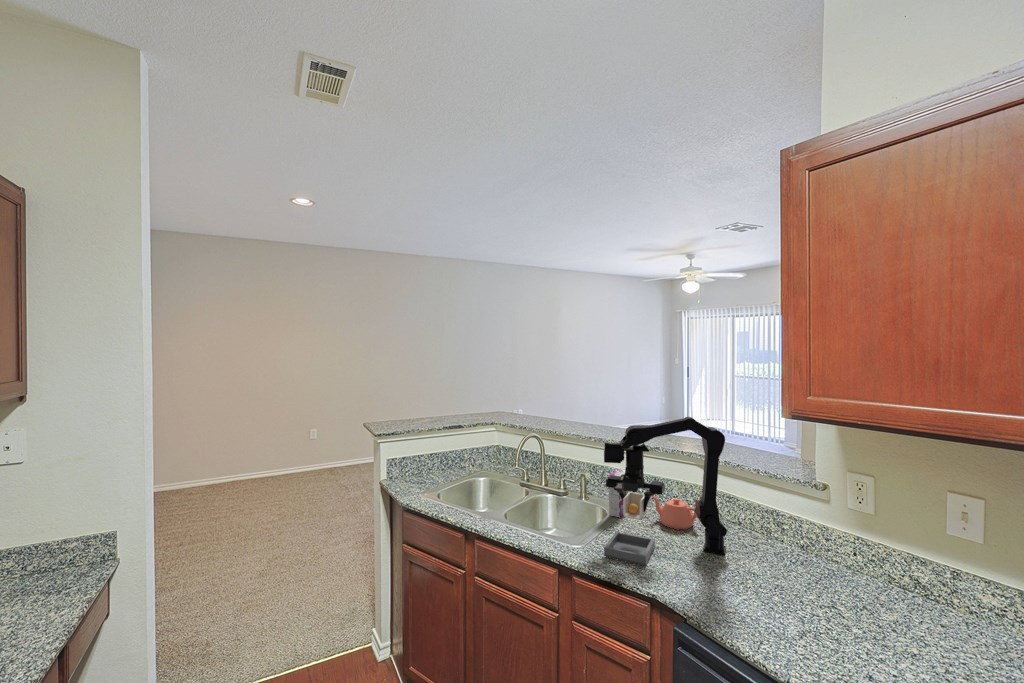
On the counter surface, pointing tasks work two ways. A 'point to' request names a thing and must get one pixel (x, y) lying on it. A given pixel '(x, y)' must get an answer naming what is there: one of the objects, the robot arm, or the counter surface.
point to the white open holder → (634, 499)
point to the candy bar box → (616, 497)
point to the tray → (630, 548)
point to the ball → (633, 508)
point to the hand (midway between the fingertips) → (635, 509)
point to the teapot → (675, 514)
